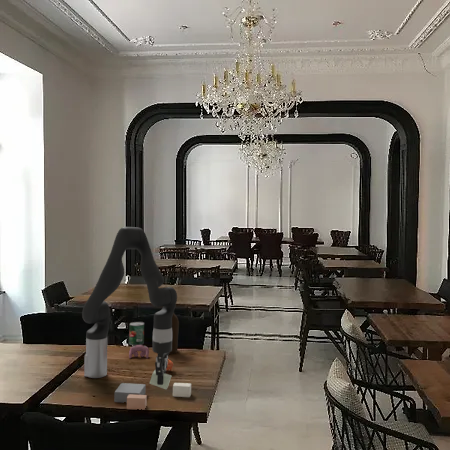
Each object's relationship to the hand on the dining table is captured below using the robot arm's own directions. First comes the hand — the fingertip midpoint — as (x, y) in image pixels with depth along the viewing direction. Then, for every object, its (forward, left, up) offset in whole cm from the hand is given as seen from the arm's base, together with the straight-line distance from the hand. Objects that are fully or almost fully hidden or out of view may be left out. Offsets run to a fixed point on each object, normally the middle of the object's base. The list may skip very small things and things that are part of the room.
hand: (161, 382), depth 206 cm
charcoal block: (-14, +6, -9) cm, 18 cm away
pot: (-7, +39, -9) cm, 41 cm away
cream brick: (+6, +12, -9) cm, 16 cm away
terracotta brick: (-9, -3, -9) cm, 13 cm away
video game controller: (-23, +58, -10) cm, 64 cm away
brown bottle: (-11, +70, -9) cm, 71 cm away
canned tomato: (-31, +82, -9) cm, 88 cm away
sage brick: (-1, 0, -1) cm, 1 cm away
